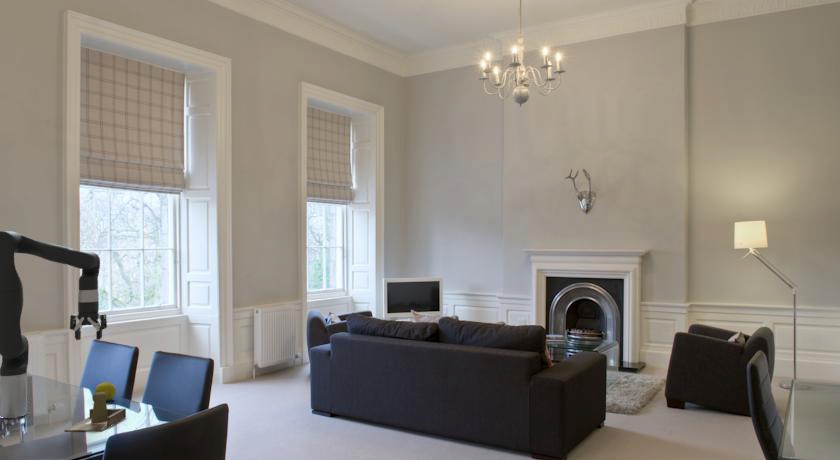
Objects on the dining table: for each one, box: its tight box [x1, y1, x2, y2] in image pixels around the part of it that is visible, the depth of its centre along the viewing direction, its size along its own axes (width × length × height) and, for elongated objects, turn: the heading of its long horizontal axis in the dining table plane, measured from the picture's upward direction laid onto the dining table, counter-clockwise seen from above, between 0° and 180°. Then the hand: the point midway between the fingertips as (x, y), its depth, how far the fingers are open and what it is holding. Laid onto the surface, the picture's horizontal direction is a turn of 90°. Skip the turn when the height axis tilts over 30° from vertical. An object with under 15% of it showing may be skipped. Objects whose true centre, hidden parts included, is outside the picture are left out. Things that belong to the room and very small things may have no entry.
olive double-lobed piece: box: [91, 392, 108, 423], centre depth 240 cm, size 6×6×11 cm
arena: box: [64, 408, 127, 433], centre depth 238 cm, size 14×18×4 cm
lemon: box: [94, 381, 117, 402], centre depth 274 cm, size 11×8×8 cm
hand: (88, 339), depth 255 cm, fingers open, 8 cm apart
